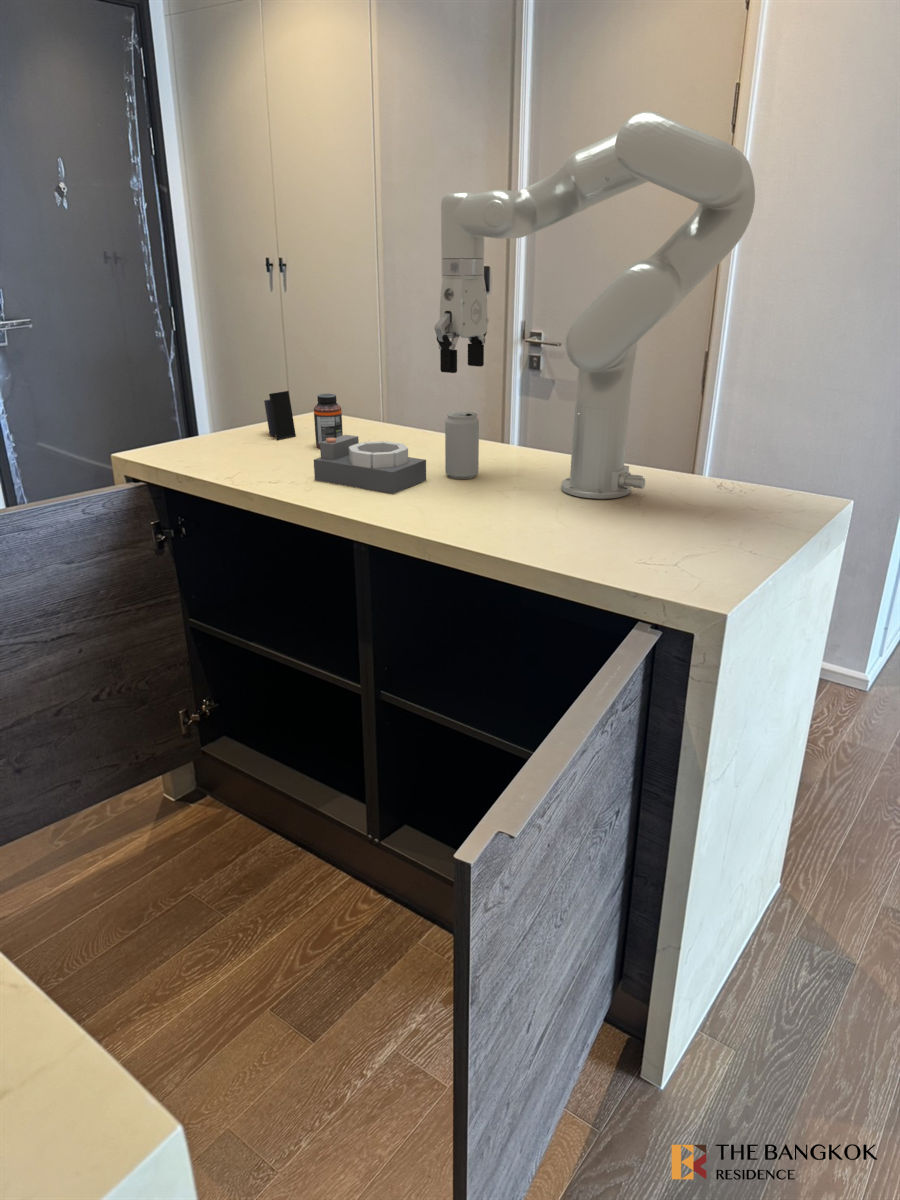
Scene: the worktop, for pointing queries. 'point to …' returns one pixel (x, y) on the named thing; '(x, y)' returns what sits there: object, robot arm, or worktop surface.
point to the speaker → (280, 415)
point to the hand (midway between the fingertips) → (462, 369)
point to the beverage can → (461, 445)
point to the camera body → (368, 465)
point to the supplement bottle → (327, 418)
